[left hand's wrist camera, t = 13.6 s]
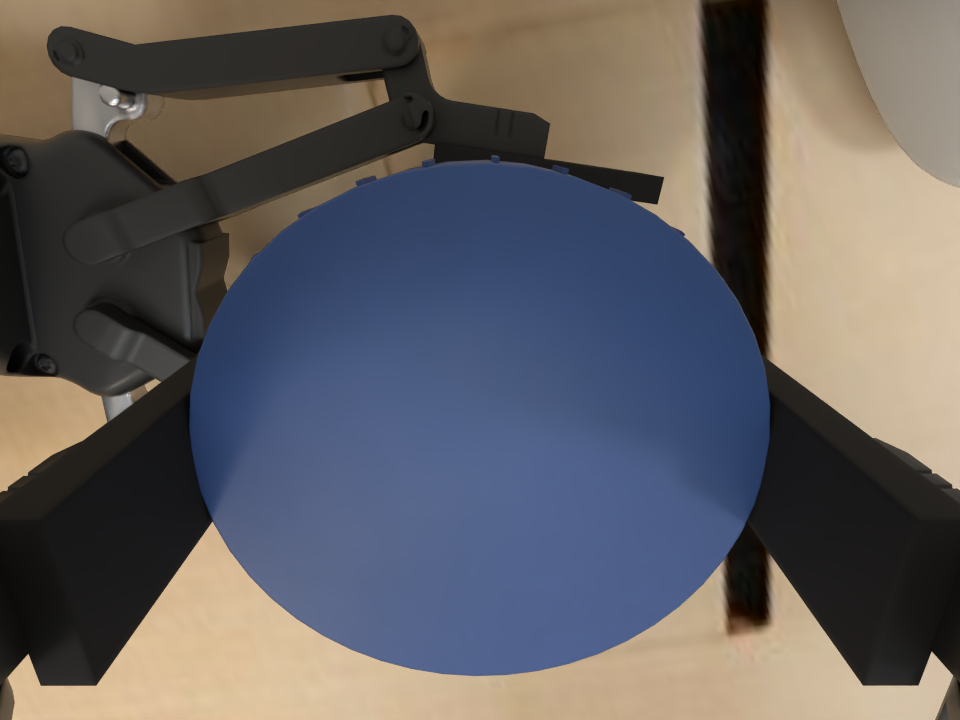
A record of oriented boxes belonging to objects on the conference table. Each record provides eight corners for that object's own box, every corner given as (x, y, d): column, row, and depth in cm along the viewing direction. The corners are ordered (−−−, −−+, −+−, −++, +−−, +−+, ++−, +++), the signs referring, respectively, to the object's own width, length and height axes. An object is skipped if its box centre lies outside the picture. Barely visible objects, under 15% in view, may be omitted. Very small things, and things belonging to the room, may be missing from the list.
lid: (657, 57, 9) (696, 37, 8) (775, 538, 13) (819, 597, 11) (124, 279, 11) (59, 305, 9) (362, 660, 14) (346, 729, 13)
